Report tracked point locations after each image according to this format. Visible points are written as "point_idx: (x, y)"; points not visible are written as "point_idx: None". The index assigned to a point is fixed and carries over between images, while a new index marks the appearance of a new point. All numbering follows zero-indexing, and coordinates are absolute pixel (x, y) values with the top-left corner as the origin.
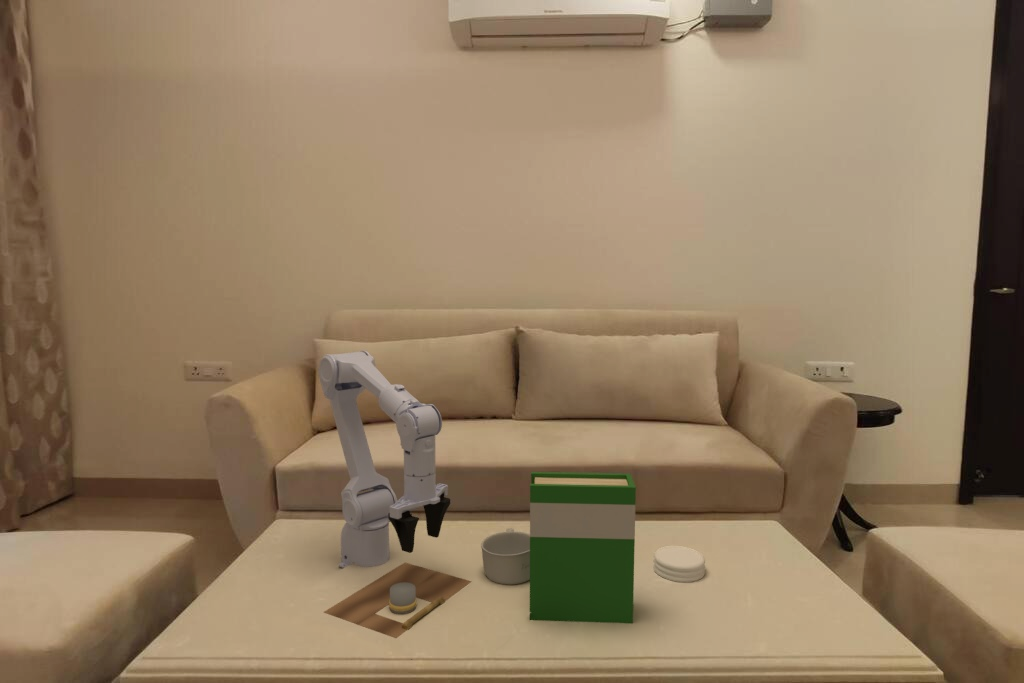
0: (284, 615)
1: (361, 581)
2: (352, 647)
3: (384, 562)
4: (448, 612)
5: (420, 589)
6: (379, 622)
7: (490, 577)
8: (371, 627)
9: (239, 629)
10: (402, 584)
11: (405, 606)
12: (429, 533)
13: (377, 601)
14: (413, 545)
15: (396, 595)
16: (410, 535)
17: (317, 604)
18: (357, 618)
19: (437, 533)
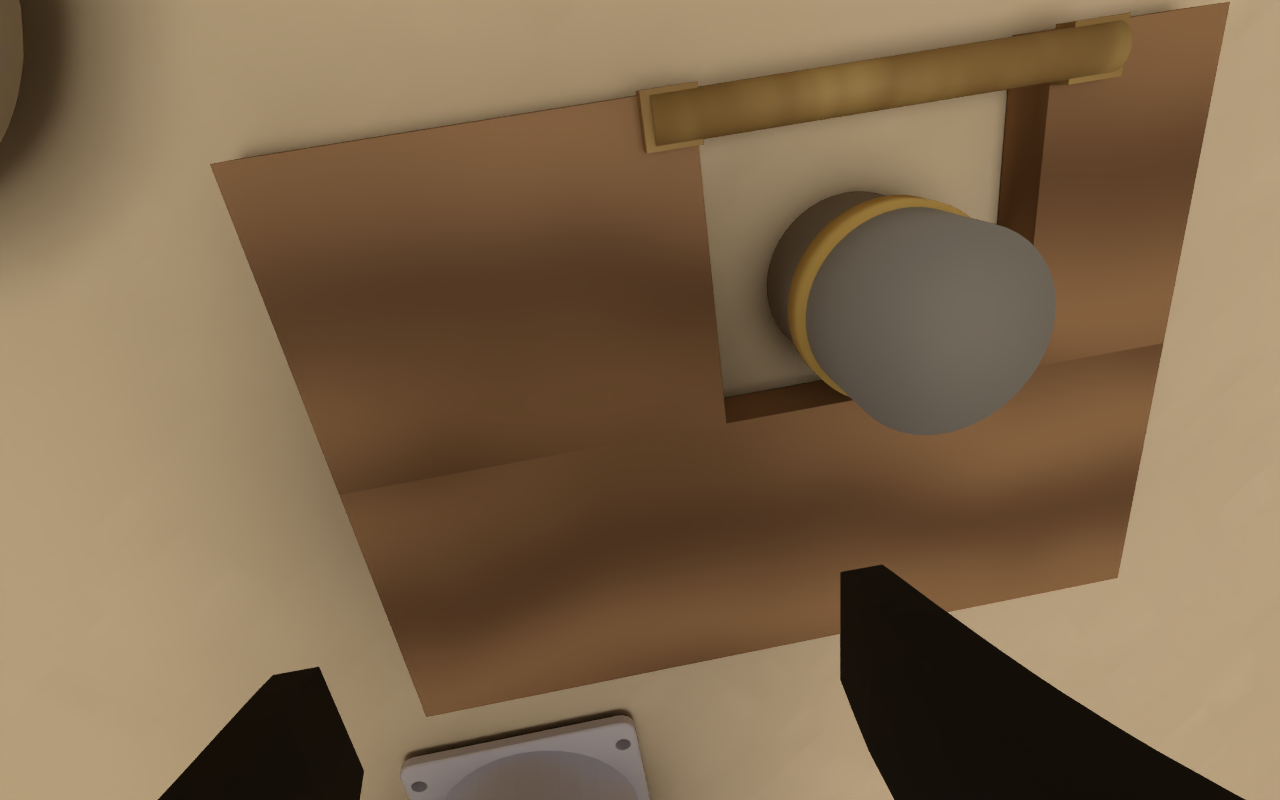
0: (1112, 688)
1: (693, 717)
2: (1250, 236)
3: (522, 779)
4: (635, 40)
5: (616, 385)
6: (1098, 261)
7: (8, 3)
8: (1165, 254)
9: (1260, 707)
10: (896, 388)
11: (966, 216)
12: (349, 784)
13: (896, 468)
14: (897, 614)
15: (1047, 295)
16: (1159, 754)
17: None
18: (1105, 401)
19: (289, 709)
